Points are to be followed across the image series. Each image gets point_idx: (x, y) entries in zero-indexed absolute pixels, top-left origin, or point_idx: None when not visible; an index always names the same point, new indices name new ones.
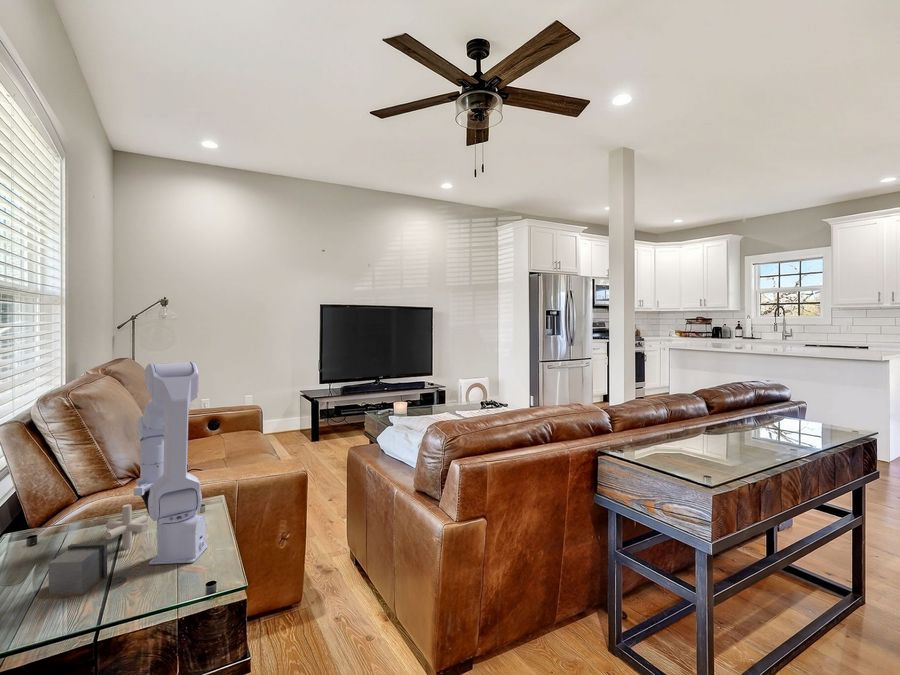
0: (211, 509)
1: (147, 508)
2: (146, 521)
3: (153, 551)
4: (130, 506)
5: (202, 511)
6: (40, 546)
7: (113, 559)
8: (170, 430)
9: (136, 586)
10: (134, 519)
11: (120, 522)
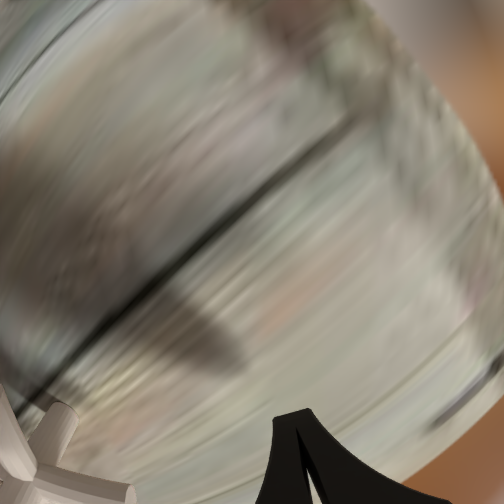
0: (453, 427)
1: (273, 450)
2: (134, 497)
3: None
4: None
5: (442, 418)
6: (6, 25)
7: None
8: None
9: None
10: (62, 502)
11: (3, 466)
